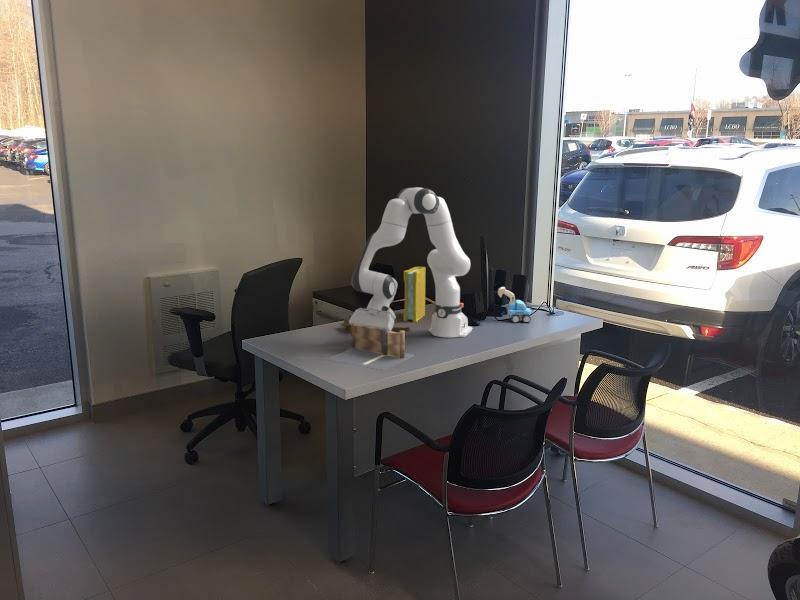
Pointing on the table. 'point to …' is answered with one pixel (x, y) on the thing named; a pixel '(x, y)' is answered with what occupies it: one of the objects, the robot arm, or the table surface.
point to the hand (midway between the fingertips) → (364, 337)
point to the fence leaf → (366, 338)
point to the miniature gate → (394, 329)
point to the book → (414, 293)
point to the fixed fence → (393, 343)
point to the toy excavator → (516, 307)
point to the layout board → (368, 359)
